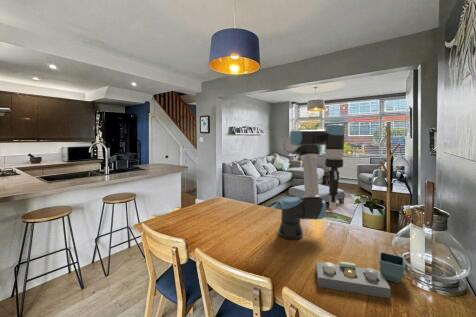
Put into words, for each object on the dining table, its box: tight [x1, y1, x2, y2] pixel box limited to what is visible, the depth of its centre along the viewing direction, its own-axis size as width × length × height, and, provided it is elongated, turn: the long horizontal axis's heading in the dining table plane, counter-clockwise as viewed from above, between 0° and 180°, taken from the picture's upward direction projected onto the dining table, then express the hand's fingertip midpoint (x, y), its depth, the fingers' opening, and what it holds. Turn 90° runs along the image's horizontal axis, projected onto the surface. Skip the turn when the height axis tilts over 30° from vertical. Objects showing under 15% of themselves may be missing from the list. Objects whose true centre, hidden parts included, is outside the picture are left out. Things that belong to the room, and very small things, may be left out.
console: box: [315, 261, 392, 299], centre depth 92 cm, size 26×12×4 cm, turn 74°
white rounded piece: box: [324, 261, 335, 275], centre depth 94 cm, size 4×4×5 cm
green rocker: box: [339, 261, 357, 269], centre depth 96 cm, size 6×3×2 cm, turn 74°
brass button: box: [344, 268, 356, 278], centre depth 92 cm, size 4×4×5 cm
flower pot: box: [379, 251, 406, 284], centre depth 94 cm, size 9×9×9 cm
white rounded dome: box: [365, 267, 378, 281], centre depth 89 cm, size 4×4×5 cm
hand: (332, 208), depth 101 cm, fingers closed
